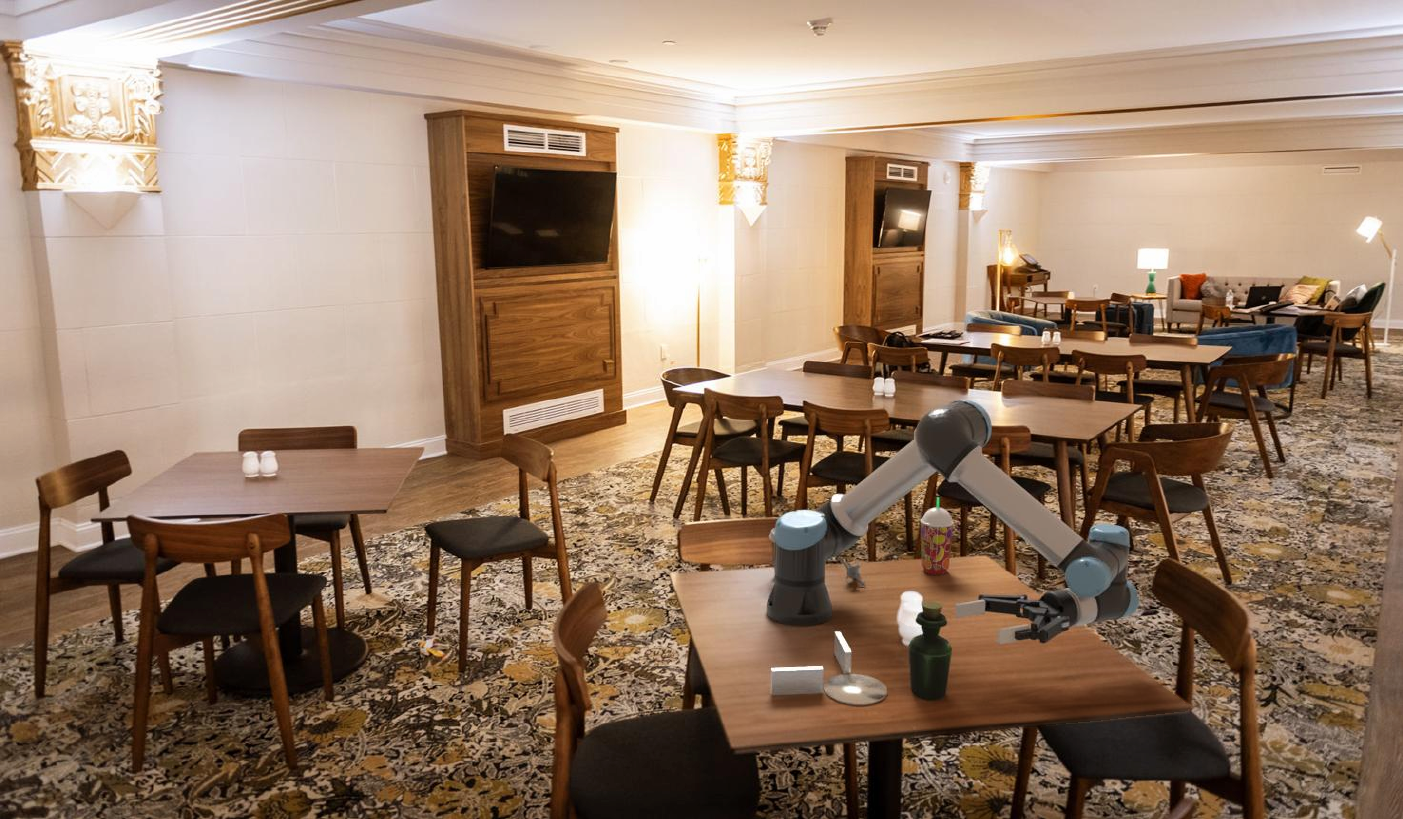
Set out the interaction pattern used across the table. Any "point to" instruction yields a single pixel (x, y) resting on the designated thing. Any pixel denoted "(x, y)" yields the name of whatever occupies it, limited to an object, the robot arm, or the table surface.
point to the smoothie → (936, 540)
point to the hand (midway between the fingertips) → (976, 623)
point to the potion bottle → (929, 655)
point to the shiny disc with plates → (838, 688)
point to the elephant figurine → (852, 571)
